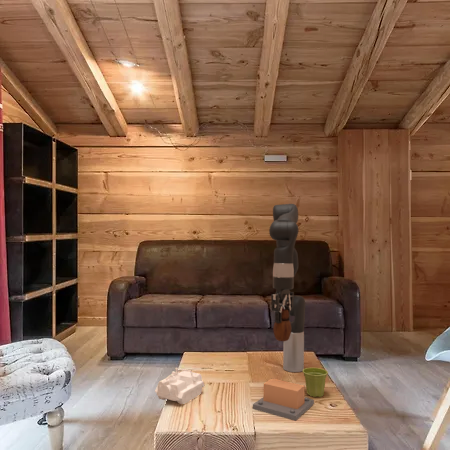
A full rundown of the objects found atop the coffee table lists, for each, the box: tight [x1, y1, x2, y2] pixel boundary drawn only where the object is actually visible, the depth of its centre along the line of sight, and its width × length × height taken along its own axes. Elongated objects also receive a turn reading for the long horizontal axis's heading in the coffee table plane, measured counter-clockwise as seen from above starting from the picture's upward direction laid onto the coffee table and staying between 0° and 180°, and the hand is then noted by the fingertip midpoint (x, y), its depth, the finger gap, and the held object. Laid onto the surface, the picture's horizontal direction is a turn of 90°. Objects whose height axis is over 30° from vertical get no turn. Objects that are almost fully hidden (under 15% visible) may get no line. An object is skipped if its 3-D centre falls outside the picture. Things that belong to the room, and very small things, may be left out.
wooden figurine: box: [272, 307, 291, 342], centre depth 145 cm, size 7×6×15 cm
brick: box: [262, 378, 306, 409], centre depth 140 cm, size 6×13×6 cm, turn 57°
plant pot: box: [302, 367, 329, 398], centre depth 151 cm, size 9×9×9 cm
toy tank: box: [154, 367, 205, 405], centre depth 146 cm, size 12×20×10 cm, turn 151°
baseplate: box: [252, 396, 315, 421], centre depth 139 cm, size 16×16×2 cm
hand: (282, 321), depth 145 cm, fingers closed on wooden figurine, 6 cm apart
